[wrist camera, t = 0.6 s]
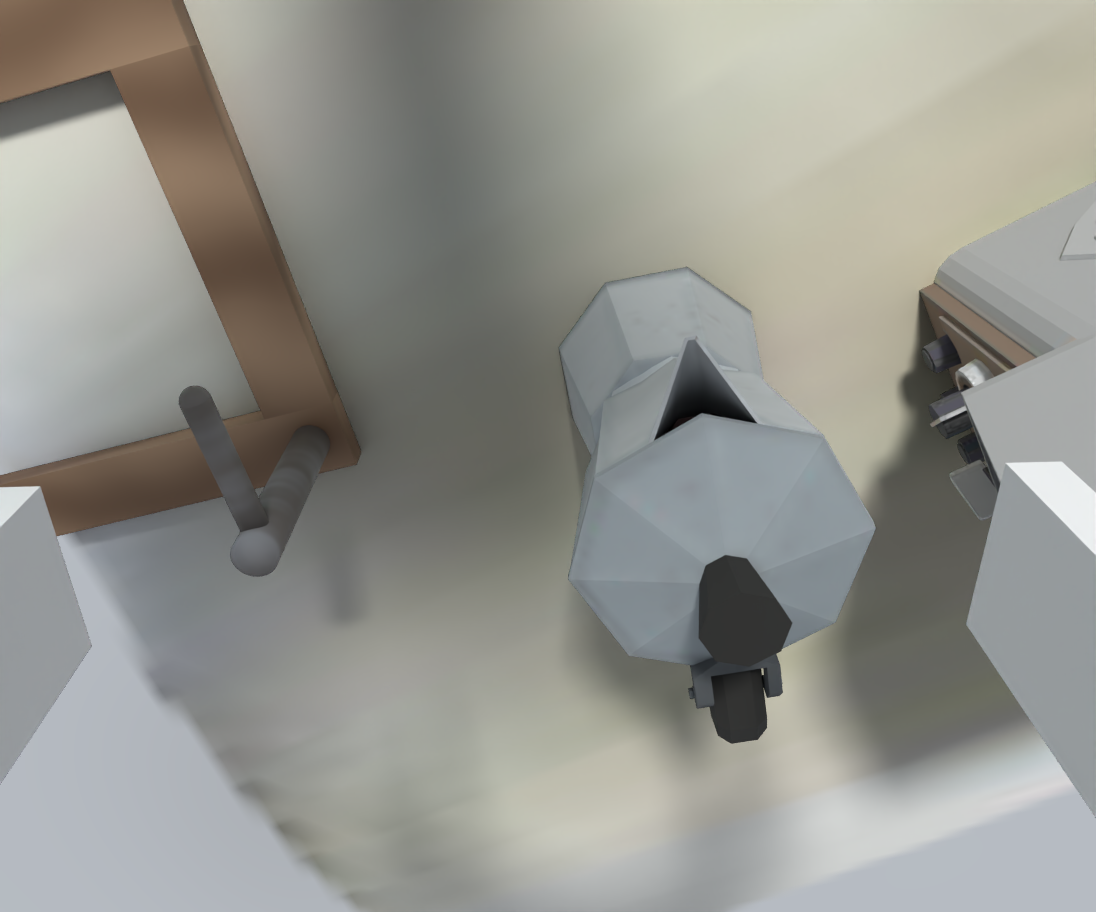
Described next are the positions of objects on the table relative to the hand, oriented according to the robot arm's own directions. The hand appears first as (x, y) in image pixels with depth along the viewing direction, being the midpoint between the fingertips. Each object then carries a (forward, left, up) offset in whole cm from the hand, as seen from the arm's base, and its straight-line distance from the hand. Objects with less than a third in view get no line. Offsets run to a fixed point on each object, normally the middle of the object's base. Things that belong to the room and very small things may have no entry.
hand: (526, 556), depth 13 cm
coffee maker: (+9, +3, -26) cm, 27 cm away
